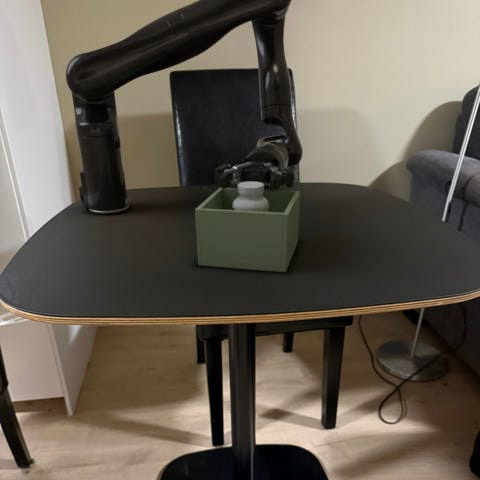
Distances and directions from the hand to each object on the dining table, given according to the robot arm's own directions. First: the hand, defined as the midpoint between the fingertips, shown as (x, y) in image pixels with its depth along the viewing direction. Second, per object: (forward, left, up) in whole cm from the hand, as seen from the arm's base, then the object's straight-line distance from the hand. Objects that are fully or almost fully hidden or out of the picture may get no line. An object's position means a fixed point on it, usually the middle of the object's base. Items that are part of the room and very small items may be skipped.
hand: (247, 183), depth 81 cm
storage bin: (0, +2, -13) cm, 13 cm away
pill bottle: (0, +2, -12) cm, 13 cm away
